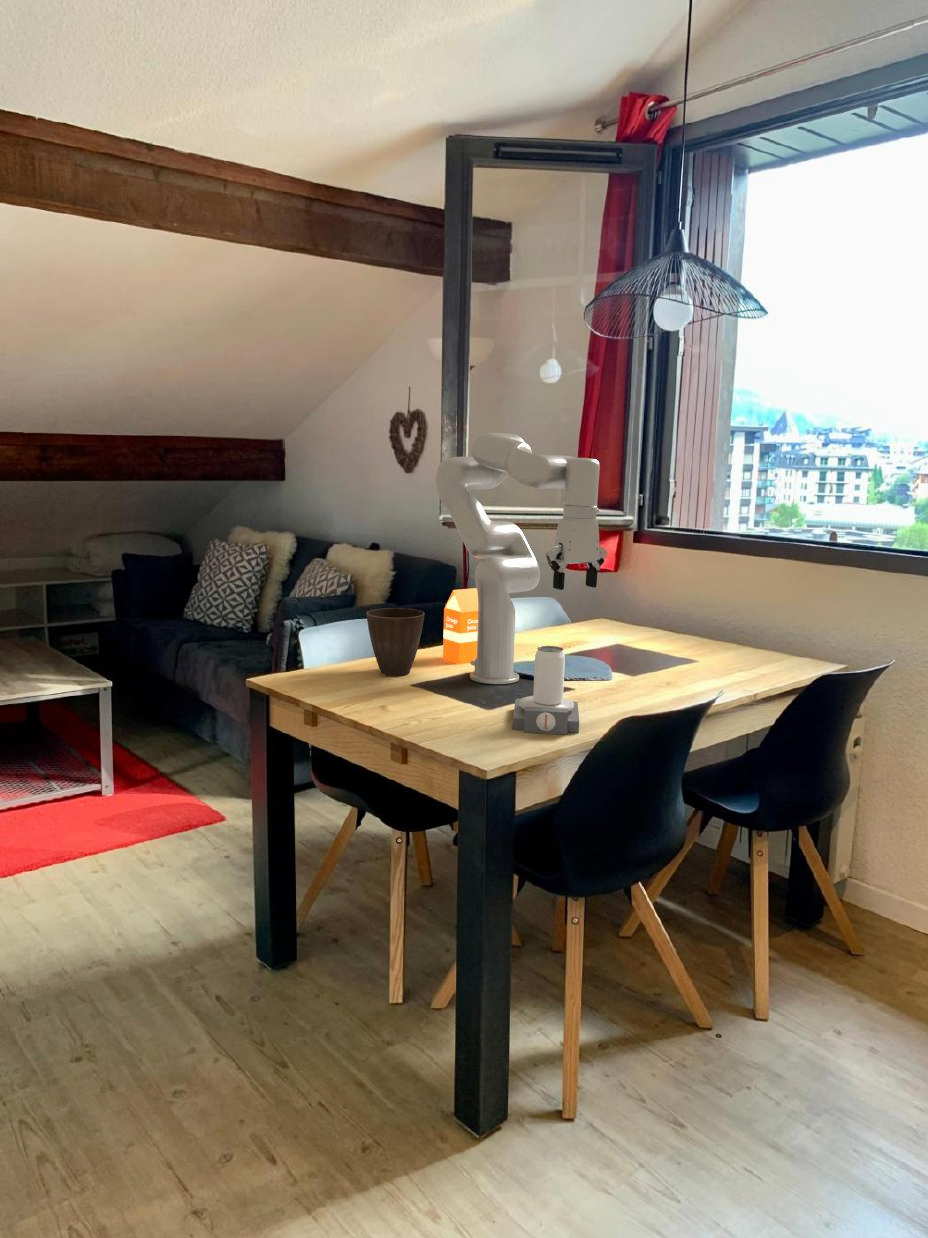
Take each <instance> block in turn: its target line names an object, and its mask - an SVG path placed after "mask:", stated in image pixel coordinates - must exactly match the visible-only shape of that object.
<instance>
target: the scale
mask: <svg viewBox="0 0 928 1238" xmlns="http://www.w3.org/2000/svg"><path fill="white" fill-rule="evenodd" d="M511 725H512V727H511V728H512V730H523V733H527V734H530V733H531V734H544V735H545V734H546V735H562V734H567V735H568V733H580V714H579V702H578V701H572V700H570V699H567V698H566V697H563V702H562V703H561V704H559V705H555V706H546V705H540V704H537V703H535V701H534V700H533V695H530V696H526V697H522V698H515V701H514V709H513V715H512V724H511Z"/></svg>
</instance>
